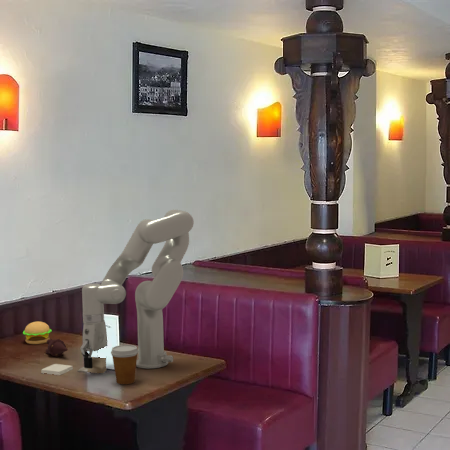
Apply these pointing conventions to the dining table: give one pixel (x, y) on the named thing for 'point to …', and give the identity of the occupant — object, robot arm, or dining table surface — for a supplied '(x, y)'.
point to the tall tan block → (96, 366)
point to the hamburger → (37, 333)
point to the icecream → (56, 347)
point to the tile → (57, 369)
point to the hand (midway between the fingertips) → (95, 364)
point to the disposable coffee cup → (125, 363)
